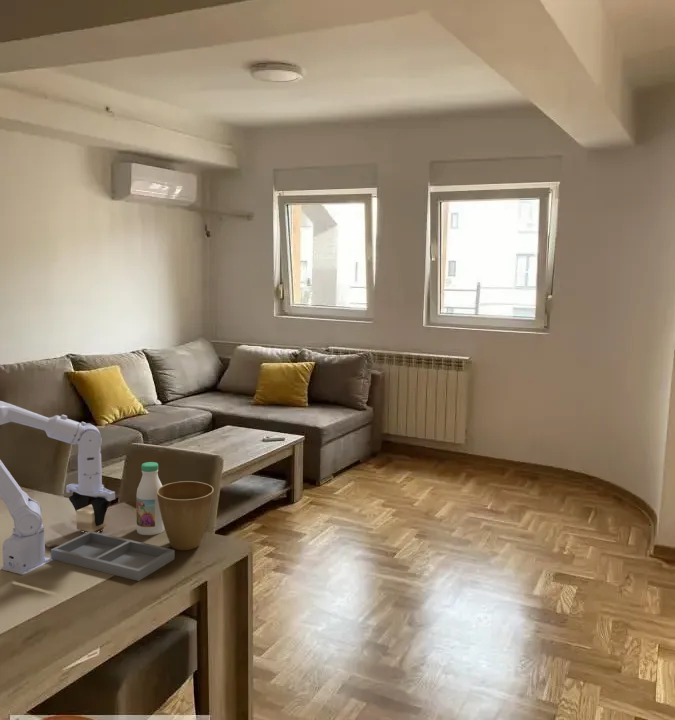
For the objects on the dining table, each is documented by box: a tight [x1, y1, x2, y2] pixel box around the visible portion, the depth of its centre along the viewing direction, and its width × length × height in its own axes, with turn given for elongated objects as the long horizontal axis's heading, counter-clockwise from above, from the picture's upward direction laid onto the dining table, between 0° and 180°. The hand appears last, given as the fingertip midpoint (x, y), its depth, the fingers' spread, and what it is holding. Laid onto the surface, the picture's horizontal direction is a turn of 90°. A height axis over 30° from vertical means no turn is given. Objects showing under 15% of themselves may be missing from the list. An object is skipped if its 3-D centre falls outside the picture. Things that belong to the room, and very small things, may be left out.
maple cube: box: [75, 505, 107, 532], centre depth 181 cm, size 5×5×5 cm
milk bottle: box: [135, 461, 165, 536], centre depth 198 cm, size 8×8×20 cm
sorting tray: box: [50, 532, 176, 582], centre depth 180 cm, size 14×28×3 cm, turn 66°
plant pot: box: [157, 480, 215, 551], centre depth 189 cm, size 15×15×16 cm
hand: (91, 522), depth 181 cm, fingers closed on maple cube, 5 cm apart
